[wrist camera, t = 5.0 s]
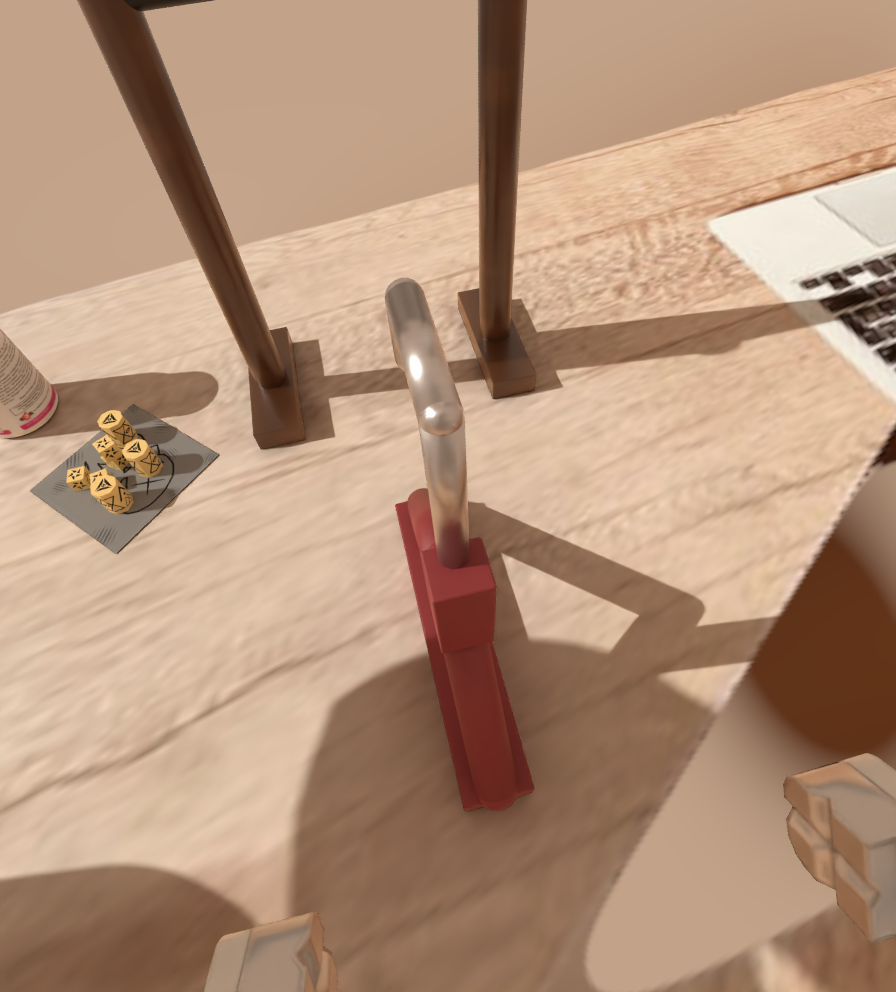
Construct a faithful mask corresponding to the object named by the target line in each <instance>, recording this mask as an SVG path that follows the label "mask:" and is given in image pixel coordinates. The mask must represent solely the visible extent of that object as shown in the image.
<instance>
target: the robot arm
mask: <svg viewBox="0 0 896 992" xmlns="http://www.w3.org/2000/svg"><path fill="white" fill-rule="evenodd" d="M783 786H784V797H785V798H786V799H787V800H788V801H789V802H790V803H791V804H792V806H793V807H792V809H791V811H790V813H789V815H788V817H787V819H786V821H787V829H788V836H789V839H790V841H791V843H792V845H793V848H794V850H795V853H796V855H797V856H798V858H799V859H800V861H801V862H802V864H803V865H804V867H805V868H806V869H807V870H808V872H809V873H810V874H811V875H812V876H813V878H814V879H815V880H816V881H818V882H820V883H822V884H825V885H826V886H829V887H831V888H833V889H835V890H836V896H837V904H838V906H839V907H840V908H841V909H842V910H843V911H844V913H845V914H846V915H847V916H848V917H849V918H850V919H851V920H852V921H853V923H854V924H855V925H856V926H857V927H858V928H859V929H860V930H861V931H862V933H863V934H864V935H865V936H866V937H867V938H868V939H869V940H870V942H871V943H875V942H879V941H883V940H886V939H890V938H894V937H896V770H894V769H893V768H892V767H890V766H889V765H888V764H886V763H885V762H883V761H882V760H881V759H879V758H878V757H877V756H874V755H871V754H869V753H865V754H862V755H859V756H855V757H852V758H849V759H845V760H842V761H840V762H836V763H832V764H829V765H825V766H822V767H819V768H815V769H812V770H808V771H805V772H802V773H798V774H795V775H792V776H788V777H786V779H785V782H784V784H783ZM323 936H324V928H323V925H322V922H321V919H320V916H319V913H317V912H311V913H307V914H304V915H300V916H296V917H292V918H288V919H284V920H280V921H276V922H272V923H268V924H264V925H260V926H256V927H254V928H252V929H248V930H244V931H240V932H236V933H232V934H228V935H224V936H222V938H221V939H220V941H219V942H218V944H217V946H216V948H215V952H214V955H213V959H212V962H211V966H210V970H209V973H208V977H207V981H206V984H205V988H204V991H203V992H338V980H337V974H336V969H335V963H334V960H333V957H332V953H331V951H330V950H328V949H326V948H325V947H323Z"/></svg>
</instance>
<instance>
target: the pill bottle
mask: <svg viewBox="0 0 896 992" xmlns="http://www.w3.org/2000/svg"><path fill="white" fill-rule="evenodd" d="M57 403H58V395H57V392H56V391H55V389H54V388H53V387H52V385H51V384H50V383H49V382H48V381H47V380H46V379H45V378H44V376H43V375H42V374H41V373H40V372H39V371H38V370H37V369H36V368H35V367H34V366H33V364H32V363H31V362H30V361H29V360H28V359H27V358H26V357H25V356H24V355H23V353H22V352H21V351H20V350H19V349H18V348H17V347H16V346H15V345H14V343H13V342H12V341H11V340H10V339H9V338H8V337H7V336H6V334H5V333H4V332H3V331H2V330H1V329H0V438H13V437H18V436H22V435H25V434H28V433H30V432H32V431H34V430H36V429H38V428H39V427H41V426H42V425H44V424H45V423H46V422H47V421H48V420H49V419H50V418H51V416H52V415H53V414H54V412H55V410H56V407H57Z"/></svg>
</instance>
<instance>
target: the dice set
mask: <svg viewBox="0 0 896 992" xmlns="http://www.w3.org/2000/svg"><path fill="white" fill-rule="evenodd" d="M97 422H98V424H99V426H100V428H101V429H102V431H103V433H104V434H105V435H104V436H102V437H101V438H99V439H97V440H96V441H94V442H93V443H92V444H91V445H92V446H93V447H94V448H95V450H96V451H97V452H98V453H99V454H100V455H101V456H100V457H99V458H100V459H101V460H102V461H103V462H104V463H105V464H106V465H107V466H108V467H109V468H113V469H115V470H119V471H121V470H122V469H123V468H124V467H125V466H126V464H127V463H129V464H130V465H131V466H132V468H133V469H134V470H135V471H136V472H137V473H138V474H139V476H140V477H147V478H150V477H151V476H155V475H156V474H157V473H159V472H160V470H161V468H162V467H163V463H162V461H161V459H160V457H159V456H158V455H157V454H156V452H155V451H154V450H153V449H152V447H151V446H150V445H149V444H148V442H147V441H146V440H145V439H140V438H137V437H138V434H137V432H136V430H135V429H134V427H133V426H132V425H131V424H130V422H129V421H128V420H127V419H126V417H125V416H124V415H123V413H121V412H120V411H115V410H110V411H108V412H106V413H104V414H102V415H101V417H100V418H99V420H98V421H97ZM65 483H66V484H67V485H68V486H69V487H70V488H71V489H72V490H73V491H75V492H76V491H80V490H87V489H89V490H90V494H91V495H92V496H93V497H94V498H95V499H96V500H97V501H98V502H99V503H100V504H101V505H102V506H103V507H104V508H105V509H106V510H107V511H108V512H110V513H114V514H116V515H118V514H120V513H121V512H126V511H127V510H128V509H129V508H130V506H131V505H132V504H133V503H134V501H133V500H134V499H133V496H132V494H131V493H130V492H129V491H128V489H127V488H126V487H125V486H124V485H123V484H122V483H121V482H120V481H119V480H118V479H117V478H116V477H115V476H114V475H113V474H112V473H111V472H110V471H109V470H108V469H107V468H106V467H105V468H103V469H100V470H97V471H95V472H91V471H90V470H89V469H88V468H87V467H86V466H85V465H82V466H78V467H74V468H70V469H68V470H67V471H66V481H65Z"/></svg>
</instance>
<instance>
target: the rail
mask: <svg viewBox="0 0 896 992" xmlns="http://www.w3.org/2000/svg"><path fill="white" fill-rule="evenodd" d="M77 1H78V3H79V5H80V8H81V10H82V12H83V14H84V16H85V18H86V20H87V22H88V25H89V27H90V29H91V31H92V33H93V35H94V38H95V40H96V42H97V44H98V46H99V48H100V50H101V53H102V55H103V57H104V59H105V61H106V63H107V65H108V68H109V70H110V72H111V74H112V76H113V78H114V80H115V82H116V85H117V87H118V89H119V91H120V93H121V95H122V97H123V100H124V102H125V104H126V106H127V108H128V110H129V112H130V114H131V117H132V119H133V121H134V123H135V125H136V127H137V130H138V132H139V134H140V136H141V138H142V140H143V142H144V145H145V147H146V149H147V151H148V153H149V155H150V157H151V160H152V162H153V164H154V166H155V168H156V170H157V172H158V175H159V177H160V179H161V181H162V183H163V185H164V187H165V189H166V192H167V194H168V196H169V198H170V200H171V202H172V204H173V207H174V209H175V211H176V213H177V215H178V217H179V219H180V222H181V223H182V226H183V228H184V230H185V232H186V234H187V237H188V239H189V241H190V243H191V245H192V247H193V249H194V251H195V254H196V256H197V258H198V260H199V262H200V264H201V267H202V269H203V271H204V273H205V275H206V277H207V279H208V282H209V284H210V286H211V288H212V290H213V292H214V294H215V296H216V299H217V301H218V303H219V305H220V307H221V309H222V311H223V314H224V316H225V318H226V320H227V322H228V324H229V326H230V329H231V331H232V333H233V335H234V337H235V339H236V341H237V344H238V346H239V348H240V350H241V352H242V354H243V356H244V359H245V361H246V363H247V365H248V370H249V384H250V397H251V410H252V424H253V436H254V438H255V439H256V441H257V443H258V445H259V447H260V449H264V448H269V447H274V446H278V445H283V444H287V443H292V442H297V441H301V440H305V432H304V425H303V418H302V411H301V403H300V396H299V389H298V381H297V374H296V367H295V359H294V352H293V345H292V340H291V337H290V335H289V332H288V329H287V327H284V328H279V329H274V330H269V328H268V325H267V323H266V320H265V318H264V315H263V313H262V310H261V308H260V305H259V303H258V300H257V298H256V295H255V293H254V290H253V287H252V285H251V282H250V280H249V277H248V275H247V272H246V270H245V267H244V265H243V262H242V260H241V257H240V255H239V252H238V250H237V247H236V245H235V242H234V240H233V237H232V234H231V232H230V229H229V227H228V224H227V222H226V219H225V217H224V215H223V212H222V209H221V207H220V204H219V202H218V199H217V197H216V194H215V192H214V189H213V187H212V184H211V182H210V179H209V176H208V174H207V171H206V169H205V166H204V164H203V161H202V159H201V156H200V154H199V151H198V149H197V146H196V144H195V141H194V139H193V136H192V134H191V131H190V128H189V126H188V124H187V121H186V118H185V116H184V113H183V111H182V108H181V106H180V103H179V101H178V98H177V96H176V93H175V91H174V88H173V86H172V83H171V81H170V78H169V75H168V73H167V70H166V68H165V66H164V63H163V61H162V58H161V55H160V53H159V50H158V48H157V45H156V43H155V40H154V38H153V35H152V33H151V30H150V28H149V25H148V22H147V20H146V18H145V15H144V12H143V11H146V10H153V9H159V8H166V7H173V6H179V5H186V4H193V3H199V2H206V1H213V0H77ZM526 11H527V0H478V101H479V102H478V109H479V110H478V112H479V114H478V115H479V116H478V117H479V288H478V289H473V290H468V291H463V292H458V309H459V311H460V314H461V316H462V319H463V322H464V324H465V327H466V330H467V332H468V335H469V338H470V340H471V343H472V345H473V348H474V351H475V353H476V356H477V359H478V361H479V364H480V367H481V369H482V372H483V375H484V377H485V380H486V382H487V385H488V388H489V390H490V393H491V396H492V398H493V399H495V398H500V397H505V396H509V395H514V394H518V393H523V392H528V391H532V390H535V381H536V373H535V371H534V369H533V366H532V364H531V362H530V360H529V357H528V355H527V353H526V351H525V348H524V346H523V344H522V342H521V340H520V337H519V335H518V333H517V331H516V328H515V326H514V324H513V322H512V319H511V302H512V282H513V263H514V244H515V224H516V205H517V186H518V166H519V147H520V127H521V108H522V88H523V70H524V69H523V68H524V50H525V31H526V30H525V29H526Z"/></svg>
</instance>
